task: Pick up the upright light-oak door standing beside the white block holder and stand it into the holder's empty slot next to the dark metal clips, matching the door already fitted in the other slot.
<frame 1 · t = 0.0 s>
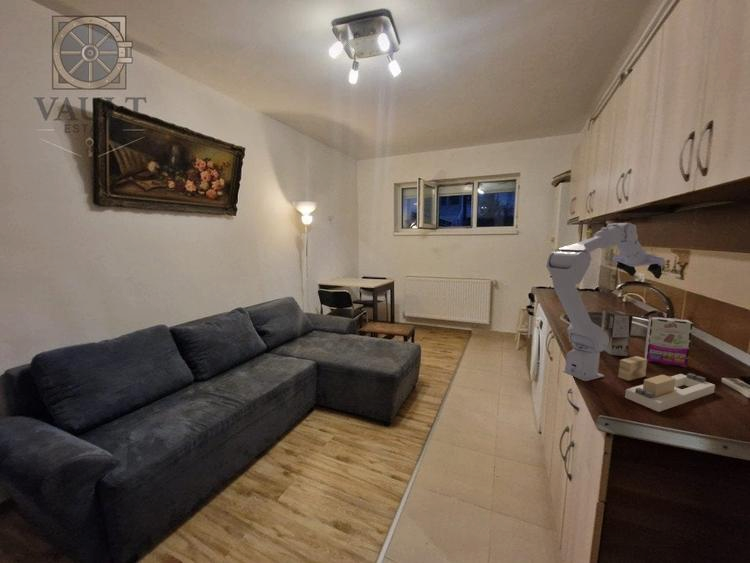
hand: (646, 275, 111), 32 cm above the counter, tool tilted 50°, fingers open, 7 cm apart
coffee box: (612, 352, 126), on the counter
white block holder: (670, 395, 91), on the counter
loose door: (631, 376, 103), on the counter
candy bar box: (664, 362, 116), on the counter
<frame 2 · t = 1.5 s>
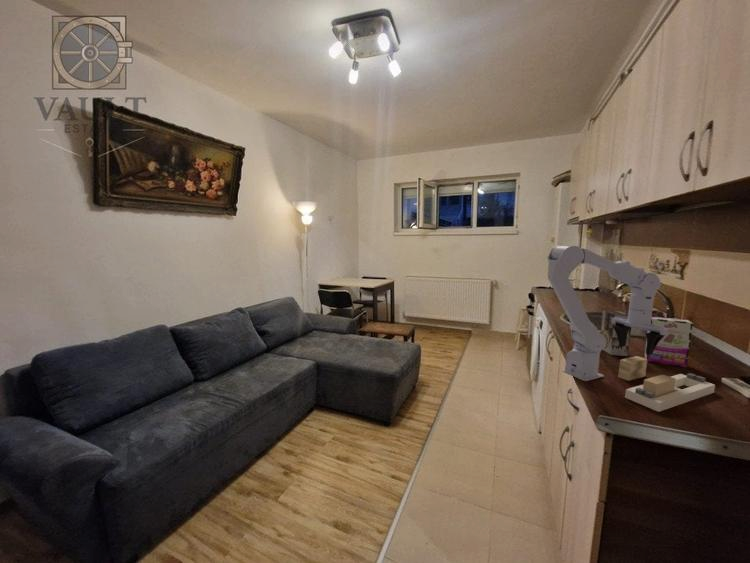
hand: (635, 350, 102), 9 cm above the counter, tool pointing down, fingers open, 7 cm apart
nothing on the counter moved.
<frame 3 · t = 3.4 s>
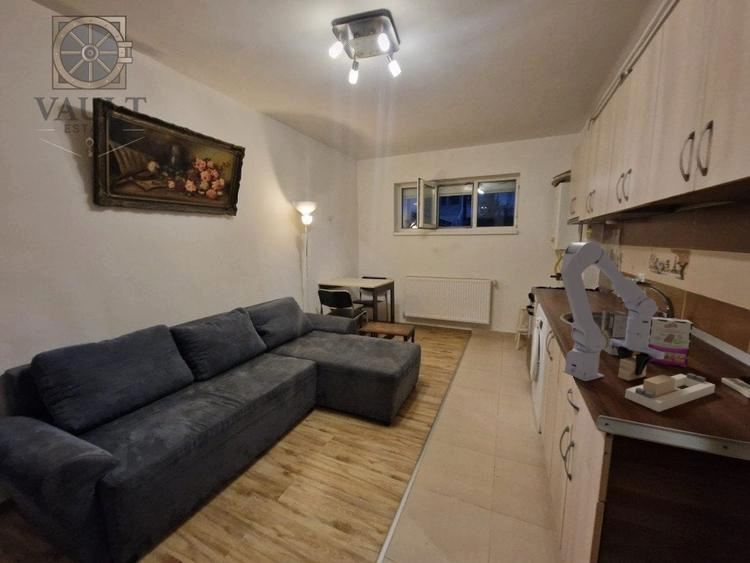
hand: (632, 372, 103), 1 cm above the counter, tool pointing down, fingers closed on loose door, 3 cm apart
loose door: (631, 376, 103), on the counter, touching gripper
everything else where it was.
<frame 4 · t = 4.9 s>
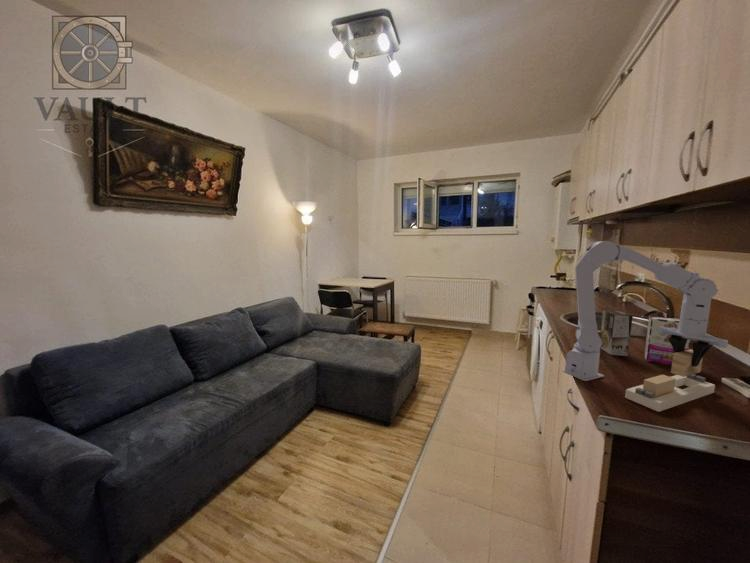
hand: (686, 363, 92), 9 cm above the counter, tool pointing down, fingers closed on loose door, 3 cm apart
loose door: (685, 372, 93), point 6 cm above the counter, touching gripper
everything else where it was.
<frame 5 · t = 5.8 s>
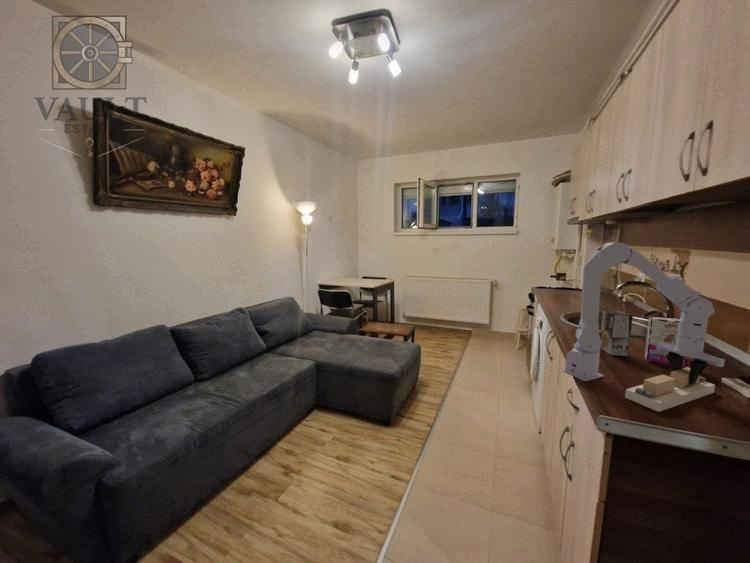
hand: (684, 380, 93), 3 cm above the counter, tool pointing down, fingers closed on loose door, 3 cm apart
loose door: (682, 390, 94), resting in white block holder, touching gripper
everything else where it was.
when the fingers open (3 cm above the counter, at t = 6.6 s): loose door stays where it is, resting in white block holder.
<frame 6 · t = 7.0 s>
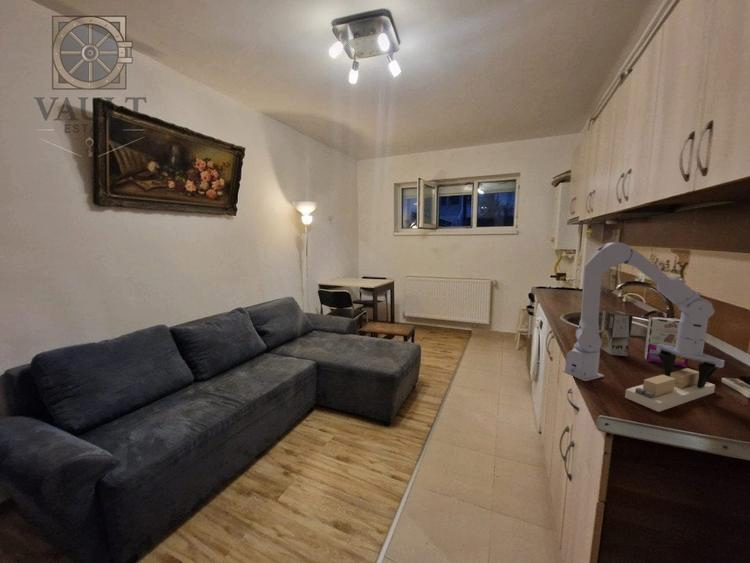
hand: (683, 381, 93), 3 cm above the counter, tool pointing down, fingers open, 7 cm apart
loose door: (682, 391, 94), resting in white block holder
everything else where it was.
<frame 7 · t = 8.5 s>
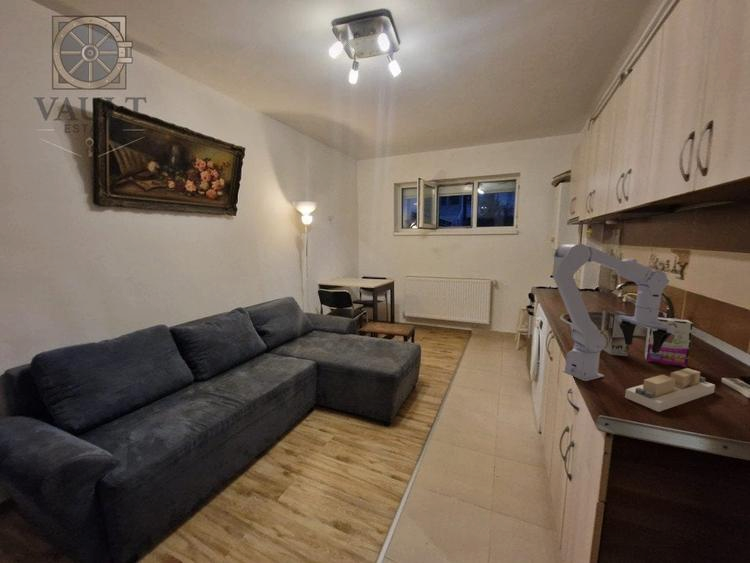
hand: (641, 348, 102), 10 cm above the counter, tool pointing down, fingers open, 7 cm apart
nothing on the counter moved.
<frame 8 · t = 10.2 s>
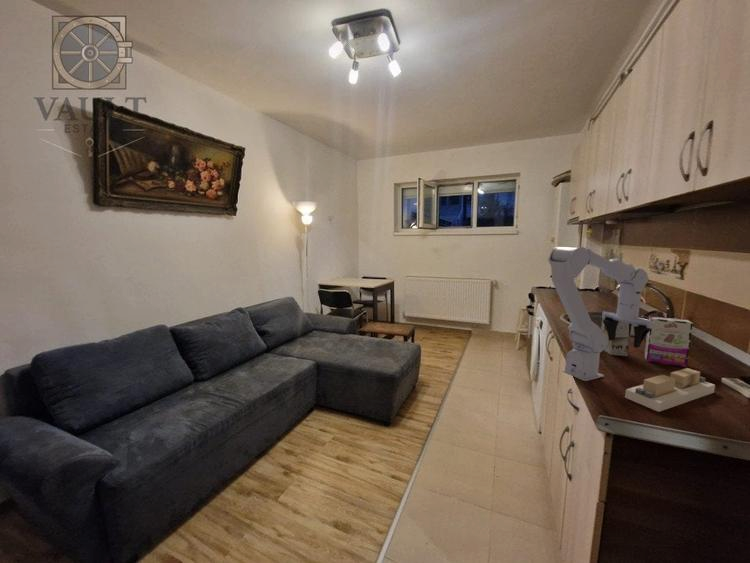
hand: (623, 343, 106), 10 cm above the counter, tool pointing down, fingers open, 7 cm apart
nothing on the counter moved.
at the end: loose door 0.2 cm from the target spot on the white block holder, point 0.0 cm above the white block holder's base; loose door tilted 0°; the gripper is holding nothing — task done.
